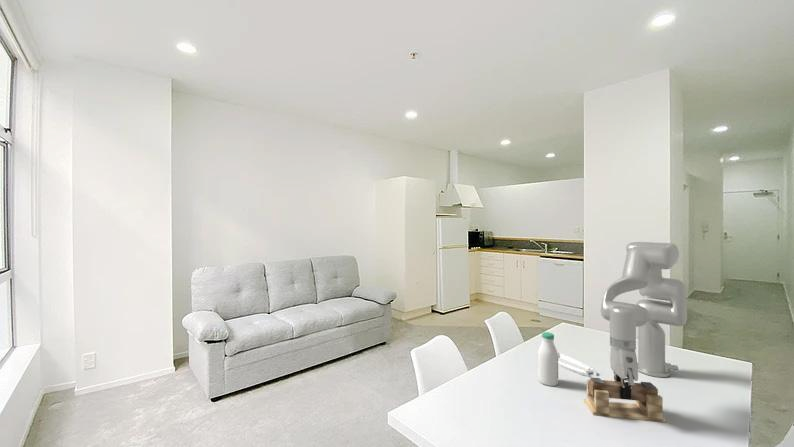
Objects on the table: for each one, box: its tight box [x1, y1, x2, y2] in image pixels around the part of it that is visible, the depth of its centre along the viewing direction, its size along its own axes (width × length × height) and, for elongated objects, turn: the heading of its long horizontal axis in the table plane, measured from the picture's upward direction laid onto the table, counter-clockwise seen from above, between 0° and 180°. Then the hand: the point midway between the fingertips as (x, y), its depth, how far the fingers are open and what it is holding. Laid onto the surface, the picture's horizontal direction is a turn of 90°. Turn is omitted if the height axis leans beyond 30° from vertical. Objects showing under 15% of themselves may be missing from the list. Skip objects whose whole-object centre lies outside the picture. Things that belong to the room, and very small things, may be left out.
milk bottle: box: [537, 331, 559, 387], centre depth 136 cm, size 8×8×20 cm
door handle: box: [557, 351, 598, 378], centre depth 153 cm, size 3×10×25 cm
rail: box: [588, 376, 659, 402], centre depth 115 cm, size 20×4×5 cm, turn 79°
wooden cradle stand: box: [583, 379, 667, 423], centre depth 115 cm, size 22×8×8 cm, turn 79°
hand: (622, 395), depth 115 cm, fingers closed on rail, 3 cm apart
